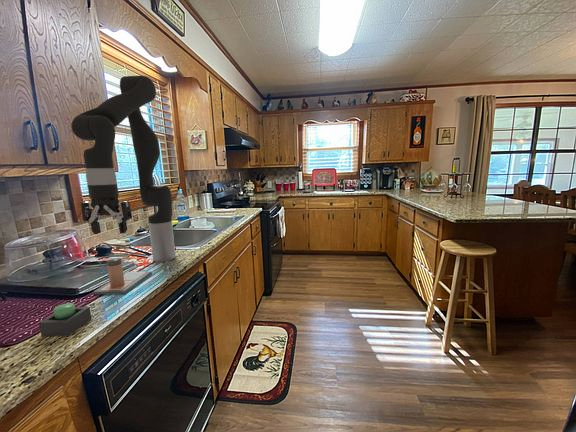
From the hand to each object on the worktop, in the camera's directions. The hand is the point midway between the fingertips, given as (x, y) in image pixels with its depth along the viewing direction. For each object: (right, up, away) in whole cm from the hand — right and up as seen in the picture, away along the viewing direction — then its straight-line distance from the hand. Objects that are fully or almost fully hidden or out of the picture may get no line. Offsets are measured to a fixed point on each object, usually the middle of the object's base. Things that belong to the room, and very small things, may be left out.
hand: (110, 233), depth 80 cm
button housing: (+2, -23, -17) cm, 29 cm away
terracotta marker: (0, -18, +3) cm, 18 cm away
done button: (+2, -19, -18) cm, 26 cm away
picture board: (0, -18, +7) cm, 20 cm away
